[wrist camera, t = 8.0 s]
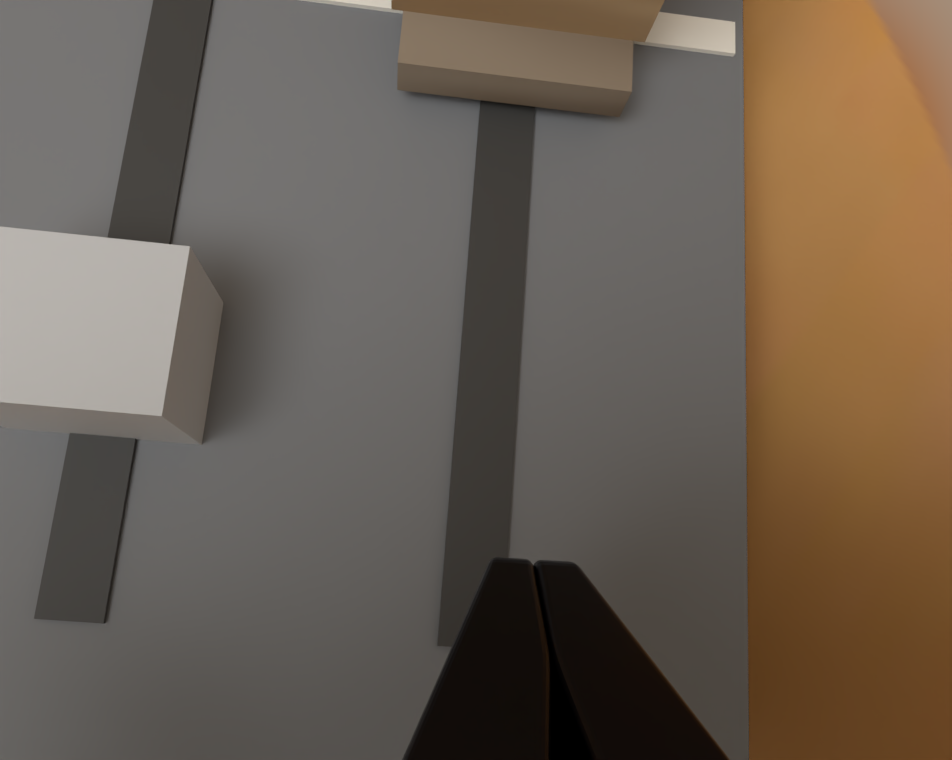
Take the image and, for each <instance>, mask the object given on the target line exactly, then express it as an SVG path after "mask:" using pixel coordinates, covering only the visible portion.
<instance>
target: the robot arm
mask: <svg viewBox="0 0 952 760" xmlns="http://www.w3.org/2000/svg"><path fill="white" fill-rule="evenodd" d="M402 760H730V759H729V758H728V757H727V755H726V754H725V753H724V751H723V750H722V749H721V748H720V746H719V745H718V744H717V742H716V741H715V740H714V739H713V737H712V736H711V735H710V733H709V732H708V731H707V730H706V728H705V727H704V726H703V724H702V723H701V722H700V721H699V719H698V718H697V717H696V715H695V714H694V713H693V712H692V710H691V709H690V708H689V706H688V705H687V704H686V703H685V701H684V700H683V699H682V697H681V696H680V695H679V694H678V692H677V691H676V690H675V689H674V687H673V686H672V685H671V683H670V682H669V681H668V680H667V678H666V677H665V676H664V674H663V673H662V672H661V671H660V669H659V668H658V667H657V665H656V664H655V663H654V662H653V660H652V659H651V658H650V656H649V655H648V654H647V653H646V651H645V650H644V649H643V647H642V646H641V645H640V644H639V642H638V641H637V640H636V638H635V637H634V636H633V635H632V633H631V632H630V631H629V629H628V628H627V627H626V626H625V624H624V623H623V622H622V620H621V619H620V618H619V617H618V615H617V614H616V613H615V612H614V610H613V609H612V608H611V606H610V605H609V604H608V603H607V601H606V600H605V599H604V597H603V596H602V595H601V594H600V592H599V591H598V590H597V588H596V587H595V586H594V585H593V583H592V582H591V581H590V579H589V578H588V577H587V576H586V574H585V573H584V572H583V570H582V569H581V568H580V567H579V566H578V565H577V564H575V563H574V562H570V561H554V560H538V561H536V562H535V563H534V565H533V564H532V562H531V561H529V560H528V559H520V558H502V557H495V558H493V559H491V560H490V561H489V563H488V565H487V567H486V570H485V572H484V574H483V576H482V579H481V581H480V583H479V586H478V588H477V590H476V592H475V595H474V597H473V599H472V602H471V604H470V606H469V608H468V611H467V613H466V615H465V618H464V620H463V622H462V624H461V627H460V629H459V631H458V634H457V636H456V638H455V640H454V643H453V645H452V647H451V649H450V652H449V654H448V656H447V659H446V661H445V663H444V665H443V668H442V670H441V672H440V675H439V677H438V679H437V681H436V684H435V686H434V688H433V691H432V693H431V695H430V697H429V700H428V702H427V704H426V706H425V709H424V711H423V713H422V716H421V718H420V720H419V722H418V725H417V727H416V729H415V732H414V734H413V736H412V738H411V741H410V743H409V745H408V748H407V750H406V752H405V754H404V757H403V759H402Z"/></svg>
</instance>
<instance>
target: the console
mask: <svg viewBox="0 0 952 760" xmlns="http://www.w3.org/2000/svg"><path fill="white" fill-rule="evenodd" d="M402 18H403V11H400V10H393V9H391V0H0V760H402V759H403V757H404V754H405V752H406V750H407V748H408V745H409V743H410V741H411V738H412V736H413V734H414V732H415V729H416V727H417V725H418V722H419V720H420V718H421V716H422V713H423V711H424V709H425V706H426V704H427V702H428V700H429V697H430V695H431V693H432V691H433V688H434V686H435V684H436V681H437V679H438V677H439V675H440V672H441V670H442V668H443V665H444V663H445V661H446V659H447V656H448V654H449V652H450V649H451V647H452V645H453V643H454V640H455V638H456V636H457V634H458V631H459V629H460V627H461V624H462V622H463V620H464V618H465V615H466V613H467V611H468V608H469V606H470V604H471V602H472V599H473V597H474V595H475V592H476V590H477V588H478V586H479V583H480V581H481V579H482V576H483V574H484V572H485V570H486V567H487V565H488V563H489V561H490V560H491V559H493V558H495V557H502V558H520V559H528V560H529V561H531V562H532V564H533V565H534V563H535V562H536V561H538V560H554V561H570V562H574V563H575V564H577V565H578V566H579V567H580V568H581V569H582V570H583V572H584V573H585V574H586V576H587V577H588V578H589V579H590V581H591V582H592V583H593V585H594V586H595V587H596V588H597V590H598V591H599V592H600V594H601V595H602V596H603V597H604V599H605V600H606V601H607V603H608V604H609V605H610V606H611V608H612V609H613V610H614V612H615V613H616V614H617V615H618V617H619V618H620V619H621V620H622V622H623V623H624V624H625V626H626V627H627V628H628V629H629V631H630V632H631V633H632V635H633V636H634V637H635V638H636V640H637V641H638V642H639V644H640V645H641V646H642V647H643V649H644V650H645V651H646V653H647V654H648V655H649V656H650V658H651V659H652V660H653V662H654V663H655V664H656V665H657V667H658V668H659V669H660V671H661V672H662V673H663V674H664V676H665V677H666V678H667V680H668V681H669V682H670V683H671V685H672V686H673V687H674V689H675V690H676V691H677V692H678V694H679V695H680V696H681V697H682V699H683V700H684V701H685V703H686V704H687V705H688V706H689V708H690V709H691V710H692V712H693V713H694V714H695V715H696V717H697V718H698V719H699V721H700V722H701V723H702V724H703V726H704V727H705V728H706V730H707V731H708V732H709V733H710V735H711V736H712V737H713V739H714V740H715V741H716V742H717V744H718V745H719V746H720V748H721V749H722V750H723V751H724V753H725V754H726V755H727V757H728V758H729V759H730V760H749V698H748V574H747V451H746V327H745V204H744V80H743V0H665V1H664V3H663V5H662V7H661V9H660V11H659V13H658V15H657V17H656V20H655V22H654V24H653V26H652V28H651V30H650V32H649V34H648V36H647V38H646V41H645V42H638V41H633V72H632V93H631V95H630V97H629V99H628V101H627V103H626V105H625V107H624V109H623V111H622V113H621V115H620V117H614V116H606V115H598V114H590V113H582V112H573V111H565V110H557V109H549V108H541V107H533V106H524V105H516V104H508V103H500V102H492V101H484V100H475V99H467V98H459V97H451V96H443V95H435V94H426V93H418V92H410V91H402V90H397V73H398V55H399V46H400V36H401V27H402Z"/></svg>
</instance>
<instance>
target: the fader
mask: <svg viewBox="0 0 952 760" xmlns="http://www.w3.org/2000/svg"><path fill="white" fill-rule="evenodd" d="M664 1H665V0H391V9H393V10H400V11H403V18H402V27H401V36H400V46H399V55H398V73H397V90H402V91H410V92H418V93H426V94H435V95H443V96H451V97H459V98H467V99H475V100H484V101H492V102H500V103H508V104H516V105H524V106H533V107H541V108H549V109H557V110H565V111H573V112H582V113H590V114H598V115H606V116H614V117H620V115H621V113H622V111H623V109H624V107H625V105H626V103H627V101H628V99H629V97H630V95H631V93H632V72H633V41H638V42H645V41H646V38H647V36H648V34H649V32H650V30H651V28H652V26H653V24H654V22H655V20H656V17H657V15H658V13H659V11H660V9H661V7H662V5H663V3H664Z"/></svg>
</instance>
